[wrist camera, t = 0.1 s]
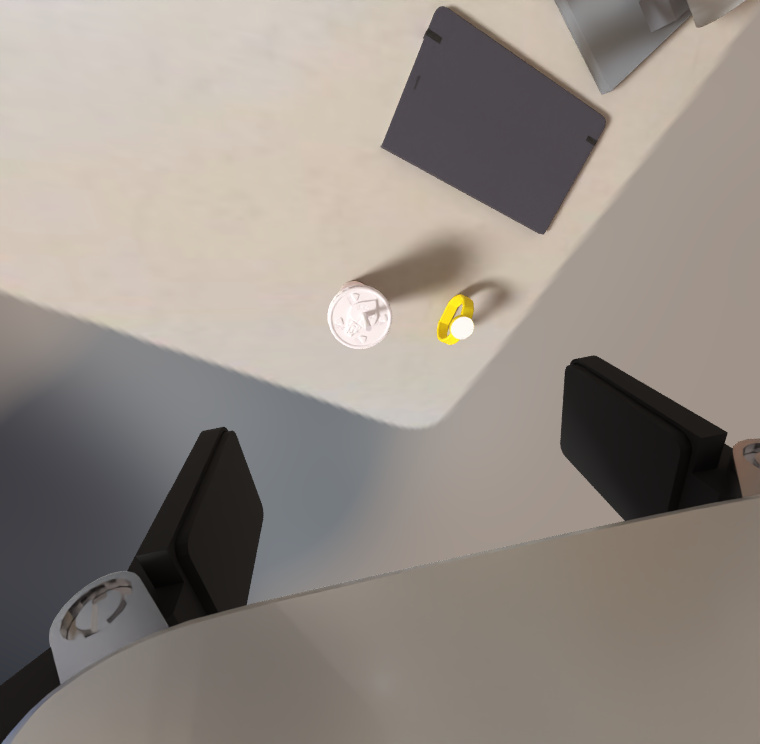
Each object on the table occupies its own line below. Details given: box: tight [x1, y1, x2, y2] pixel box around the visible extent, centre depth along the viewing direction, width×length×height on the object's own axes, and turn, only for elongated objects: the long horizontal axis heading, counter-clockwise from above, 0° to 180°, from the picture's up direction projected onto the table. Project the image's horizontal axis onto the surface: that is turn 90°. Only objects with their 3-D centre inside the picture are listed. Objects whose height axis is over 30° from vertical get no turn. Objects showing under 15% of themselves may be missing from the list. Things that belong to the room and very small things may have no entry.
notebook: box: [381, 6, 606, 234], centre depth 41 cm, size 13×2×21 cm
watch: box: [437, 294, 474, 345], centre depth 46 cm, size 6×3×6 cm, turn 156°
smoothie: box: [328, 281, 392, 349], centre depth 40 cm, size 6×6×14 cm
